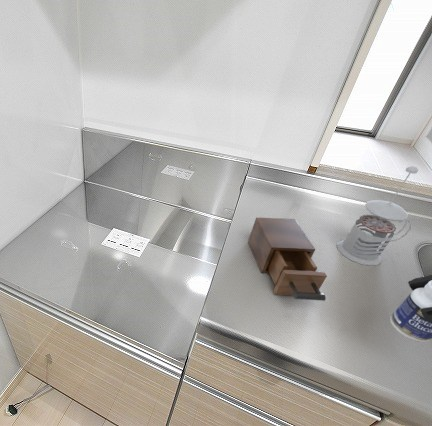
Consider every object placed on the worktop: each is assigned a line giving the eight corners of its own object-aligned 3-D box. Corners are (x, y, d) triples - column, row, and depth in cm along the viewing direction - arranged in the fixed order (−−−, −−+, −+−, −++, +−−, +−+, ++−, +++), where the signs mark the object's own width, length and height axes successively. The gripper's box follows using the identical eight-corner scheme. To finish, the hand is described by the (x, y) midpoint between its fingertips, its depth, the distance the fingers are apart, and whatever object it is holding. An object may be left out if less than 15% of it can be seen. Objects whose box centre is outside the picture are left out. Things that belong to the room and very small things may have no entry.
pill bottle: (395, 336, 48) (431, 297, 43) (384, 310, 52) (416, 272, 47) (437, 347, 46) (480, 309, 41) (423, 320, 50) (460, 281, 45)
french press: (330, 237, 82) (376, 155, 67) (377, 242, 80) (435, 159, 65) (345, 262, 74) (400, 175, 60) (398, 269, 72) (468, 180, 58)
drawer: (324, 313, 62) (338, 292, 58) (282, 310, 62) (293, 289, 58) (295, 262, 73) (305, 242, 69) (260, 261, 74) (268, 241, 70)
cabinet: (302, 275, 71) (315, 249, 66) (261, 273, 72) (271, 247, 67) (283, 243, 81) (294, 218, 76) (247, 242, 81) (256, 217, 76)
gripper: (548, 215, 40) (392, 255, 51) (643, 292, 29) (420, 320, 41) (571, 255, 41) (413, 285, 52) (671, 342, 30) (446, 356, 42)
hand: (417, 300), depth 46 cm, fingers closed on pill bottle, 5 cm apart
